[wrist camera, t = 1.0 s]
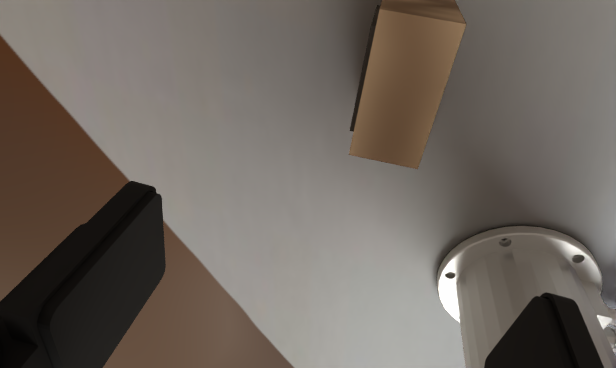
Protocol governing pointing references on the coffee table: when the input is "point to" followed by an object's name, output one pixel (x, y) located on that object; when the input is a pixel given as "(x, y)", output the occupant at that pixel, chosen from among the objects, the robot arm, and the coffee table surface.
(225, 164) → the coffee table surface
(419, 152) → the block
